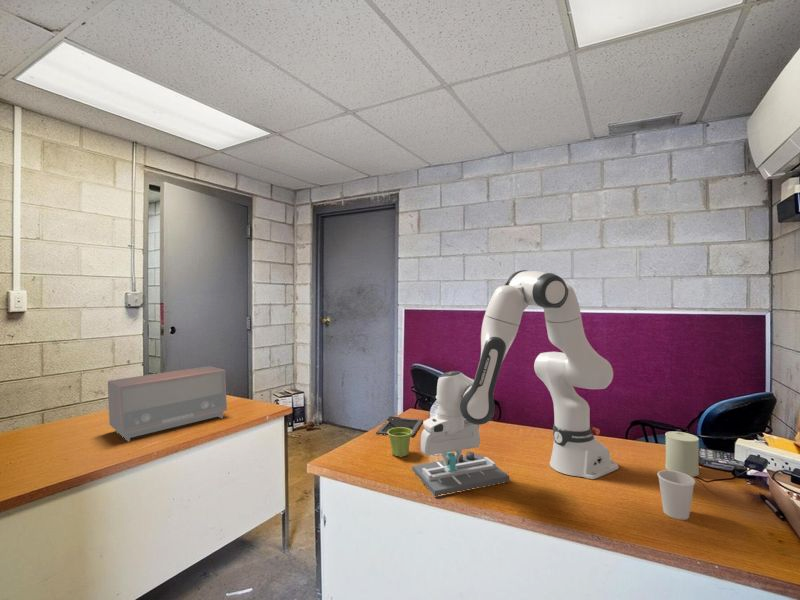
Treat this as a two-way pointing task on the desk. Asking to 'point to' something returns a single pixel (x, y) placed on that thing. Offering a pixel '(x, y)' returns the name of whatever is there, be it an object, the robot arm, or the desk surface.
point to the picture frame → (400, 424)
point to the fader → (451, 463)
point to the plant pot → (400, 440)
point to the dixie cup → (676, 493)
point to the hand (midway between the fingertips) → (451, 463)
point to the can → (682, 453)
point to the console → (460, 474)
